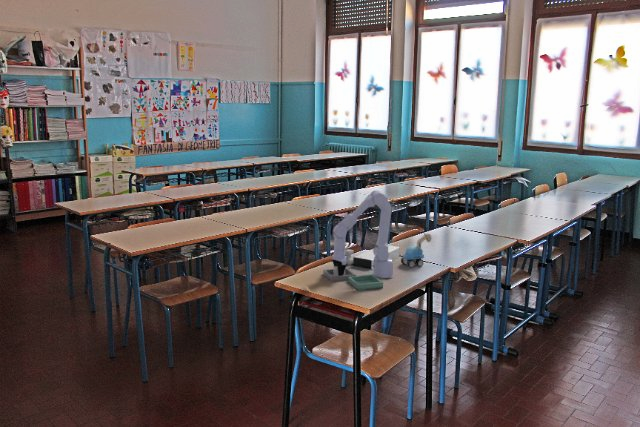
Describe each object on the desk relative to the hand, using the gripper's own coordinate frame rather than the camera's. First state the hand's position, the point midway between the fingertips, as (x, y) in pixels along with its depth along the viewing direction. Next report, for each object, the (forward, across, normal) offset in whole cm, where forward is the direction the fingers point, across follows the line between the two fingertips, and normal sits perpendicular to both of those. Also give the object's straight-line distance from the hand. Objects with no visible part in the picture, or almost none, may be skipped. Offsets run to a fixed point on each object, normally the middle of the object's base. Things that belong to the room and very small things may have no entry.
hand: (339, 274), depth 284 cm
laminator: (+2, -21, +31) cm, 38 cm away
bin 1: (+2, 0, 0) cm, 2 cm away
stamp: (+2, -21, +13) cm, 25 cm away
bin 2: (+2, +15, +8) cm, 17 cm away
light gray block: (+1, 0, 0) cm, 1 cm away
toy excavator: (+2, -10, +49) cm, 50 cm away
